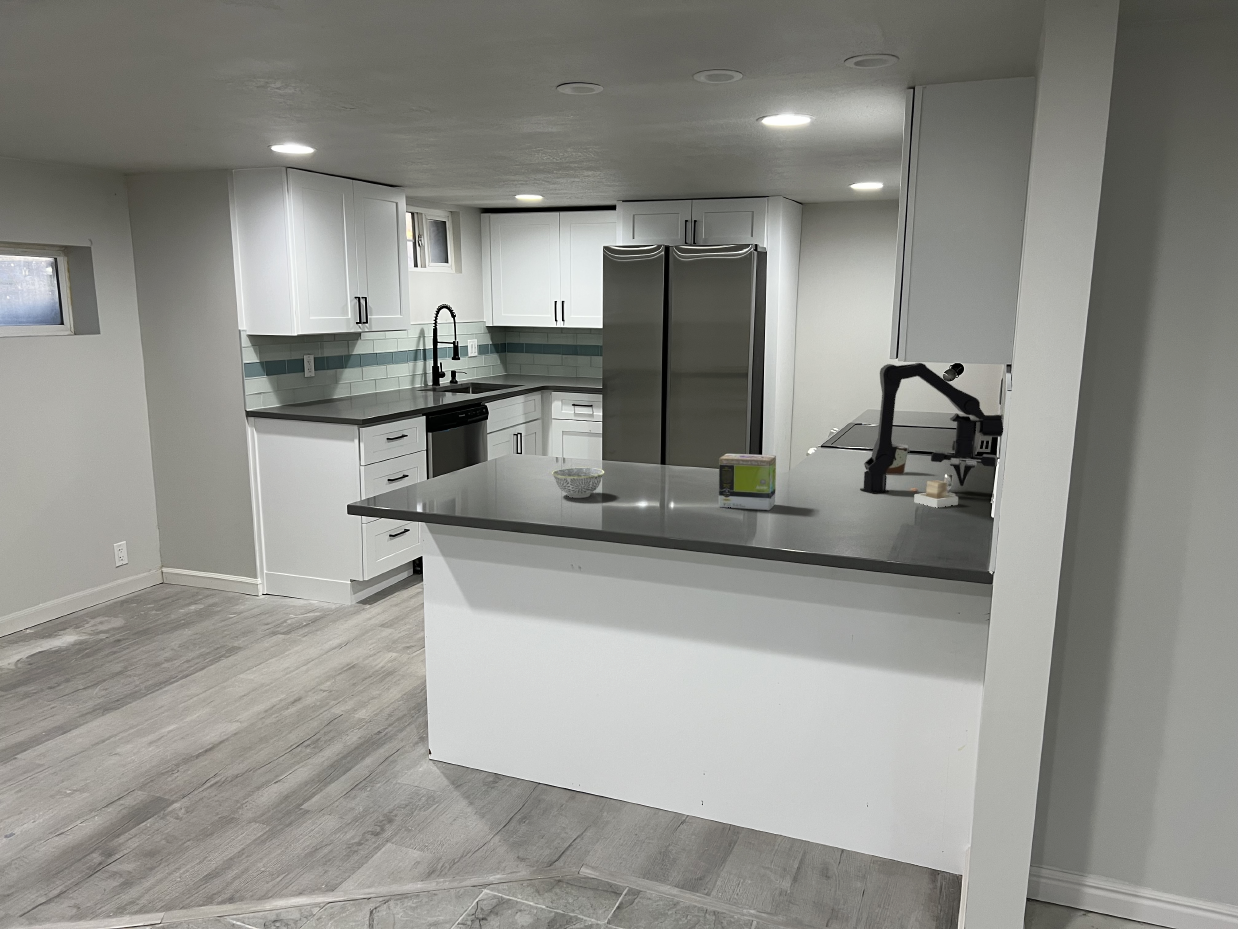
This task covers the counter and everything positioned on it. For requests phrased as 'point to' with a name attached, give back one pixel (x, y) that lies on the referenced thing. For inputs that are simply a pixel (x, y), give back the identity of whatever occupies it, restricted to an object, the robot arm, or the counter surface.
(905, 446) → the food container
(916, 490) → the crank base
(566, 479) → the bowl
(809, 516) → the counter surface
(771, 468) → the tea box
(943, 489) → the block
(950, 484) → the crank
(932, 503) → the tray
